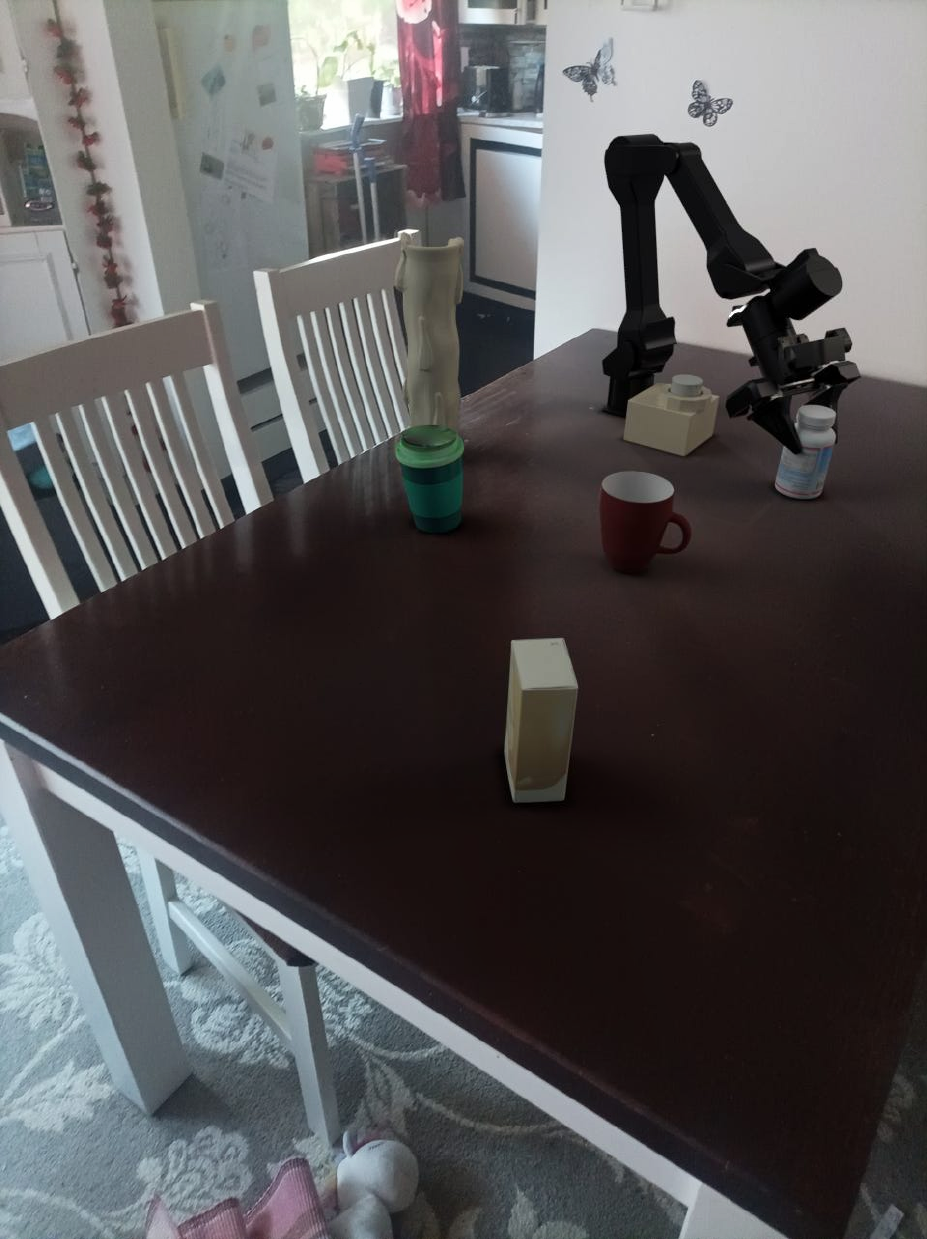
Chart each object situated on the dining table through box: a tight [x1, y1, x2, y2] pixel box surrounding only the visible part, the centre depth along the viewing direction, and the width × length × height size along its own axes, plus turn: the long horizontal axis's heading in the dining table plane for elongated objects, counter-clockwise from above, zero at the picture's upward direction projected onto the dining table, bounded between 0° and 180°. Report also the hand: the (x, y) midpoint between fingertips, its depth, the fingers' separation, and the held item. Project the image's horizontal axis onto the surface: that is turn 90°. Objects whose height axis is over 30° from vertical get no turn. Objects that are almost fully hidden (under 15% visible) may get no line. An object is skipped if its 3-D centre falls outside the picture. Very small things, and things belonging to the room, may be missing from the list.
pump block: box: [623, 381, 720, 457], centre depth 130 cm, size 11×10×8 cm
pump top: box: [670, 374, 704, 398], centre depth 125 cm, size 4×4×2 cm
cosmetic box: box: [504, 637, 579, 804], centre depth 69 cm, size 6×4×12 cm
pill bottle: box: [774, 405, 836, 500], centre depth 114 cm, size 6×6×11 cm
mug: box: [598, 470, 692, 574], centre depth 98 cm, size 10×8×10 cm
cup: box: [395, 425, 465, 535], centre depth 105 cm, size 8×8×12 cm
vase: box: [394, 231, 465, 436], centre depth 117 cm, size 9×8×30 cm
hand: (816, 449), depth 113 cm, fingers closed on pill bottle, 6 cm apart
